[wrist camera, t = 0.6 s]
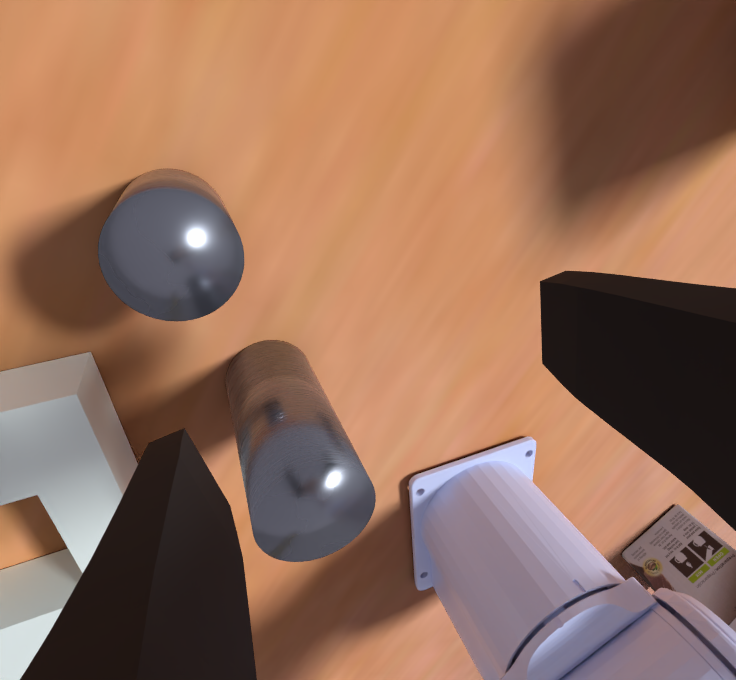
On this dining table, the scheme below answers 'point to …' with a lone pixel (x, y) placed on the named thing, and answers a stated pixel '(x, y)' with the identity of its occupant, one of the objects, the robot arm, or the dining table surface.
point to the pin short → (171, 247)
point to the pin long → (294, 456)
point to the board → (56, 488)
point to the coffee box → (687, 562)
